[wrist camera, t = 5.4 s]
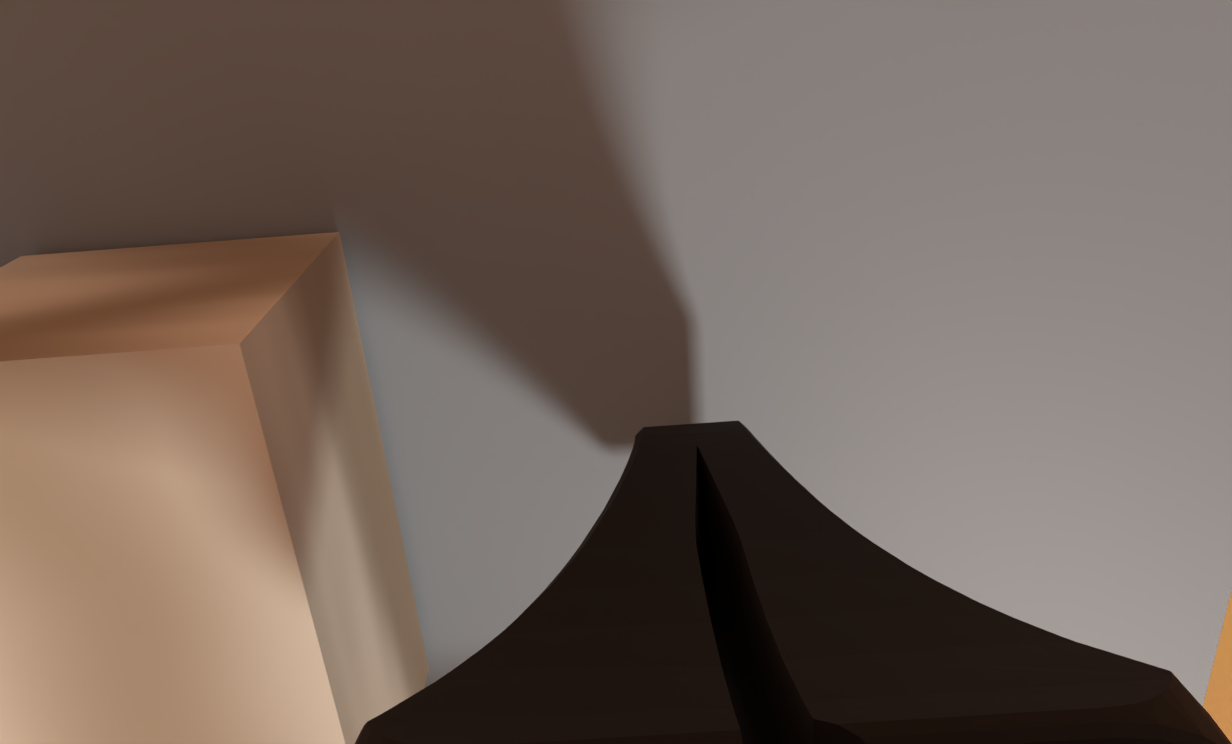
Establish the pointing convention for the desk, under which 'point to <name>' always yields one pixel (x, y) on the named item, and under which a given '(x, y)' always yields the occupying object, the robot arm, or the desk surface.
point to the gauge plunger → (195, 501)
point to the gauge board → (715, 262)
